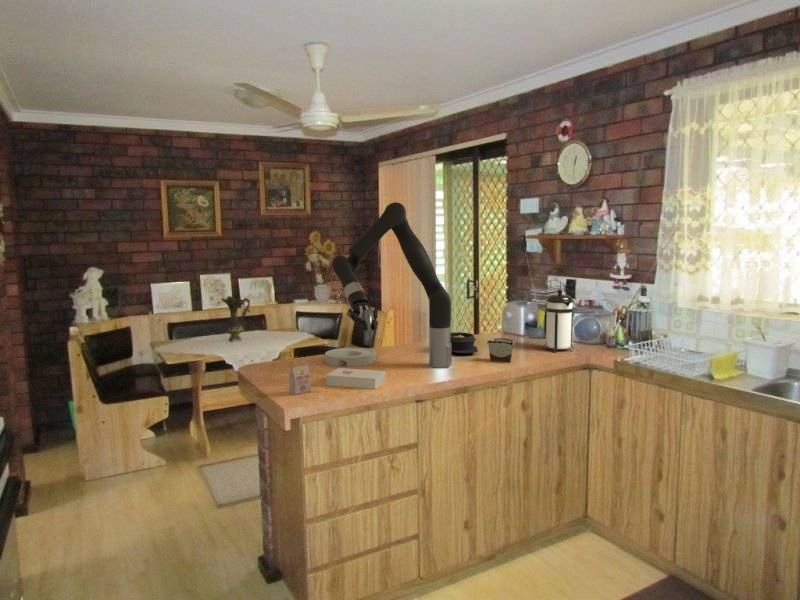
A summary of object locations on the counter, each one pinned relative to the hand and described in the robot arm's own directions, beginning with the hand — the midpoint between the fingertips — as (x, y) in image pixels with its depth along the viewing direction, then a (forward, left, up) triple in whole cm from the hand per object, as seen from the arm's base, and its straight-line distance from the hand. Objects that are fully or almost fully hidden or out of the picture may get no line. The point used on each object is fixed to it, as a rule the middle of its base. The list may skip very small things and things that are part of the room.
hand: (370, 329), depth 225 cm
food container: (-46, -47, -20) cm, 69 cm away
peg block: (+4, +7, -20) cm, 22 cm away
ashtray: (+21, -30, -21) cm, 42 cm away
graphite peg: (+2, -1, -6) cm, 7 cm away
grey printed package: (+19, +25, -21) cm, 37 cm away
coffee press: (-69, -79, -20) cm, 107 cm away
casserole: (-23, -62, -21) cm, 69 cm away
